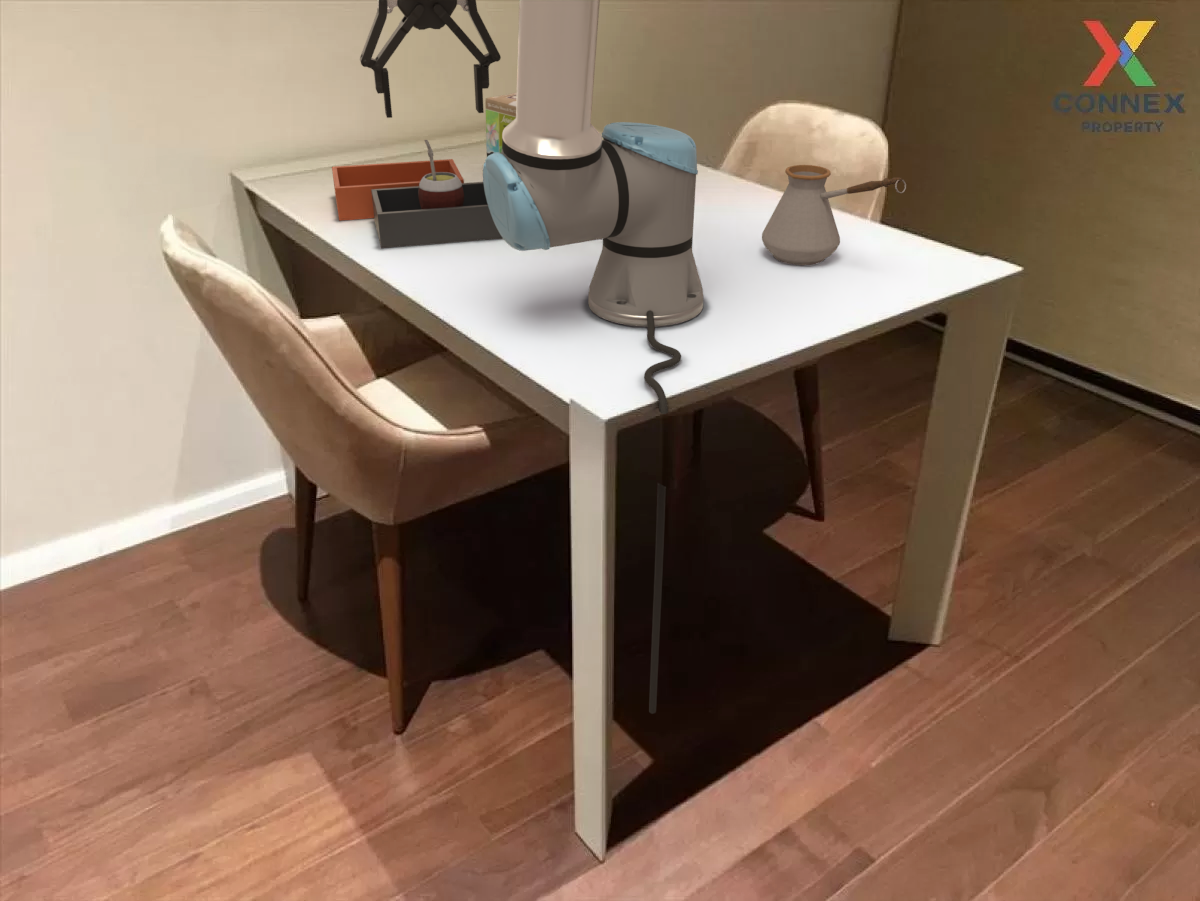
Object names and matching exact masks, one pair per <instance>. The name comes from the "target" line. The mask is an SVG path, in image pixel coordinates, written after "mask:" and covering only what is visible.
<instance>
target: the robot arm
mask: <svg viewBox="0 0 1200 901" xmlns="http://www.w3.org/2000/svg"><path fill="white" fill-rule="evenodd" d="M376 1H377V2H376V4H377V6H376V13H375V16H374V19H373V21H372V25H371V27H370V29H369V32H368V35H367V38H366V40H365V44H364V46H363V48H362V51H361V54H360V56H359V61H360V62H359V63H360V65H361V66H362V67H364V68H368V69H371V70H372V71H373V78H374V88H375V91H376V93H377V94H383V102H384V112H385V117H386V118H387V119H390V118H393V112H392V111H393V110H392V101H391V88H390V78H389V71H388V68H387V67H385V66H386V65H387V63H388V62H389V60H390V59H391V57H392V56H393V55H394V53H395V51H396V50H397V49H398V47H399V46H400V45H401V43H402V42H403V40H404V39H405V37H406V36H407V34H409V33H410V31H411V30H412V29H413V28H415V29H417V30H419V31H424V30H428V29H431V30H441V29H442V28H444V27H445V26H447V28H448V29H449V30H450V31H451V32H452V33H453V34H454V35H455V37H456V38H457V39H458V40H459V41H460V43H462V45H463V46H464V47H465V48H466V49H467V50H468V52H469V53H470V54H471V55H472V56H473V57H474V58H475V59H476V60H477V62H478V63H474V64H473V79H474V80H473V81H474V83H473V84H474V98H475V99H474V100H475V110H476V112H477V114H485V113H484V112H485V111H484V93H483V91H484V90H485V89H486V90H487V89H489V87H490V68H489V67H490V66H491V64H493V63H497V62H500V61H501V58H502V57H501V54H500V52H499V50H498V48H497V46H496V44H495V43H494V40H493V38H492V37H491V34H490V32H489V31H488V29H487V27H486V25H485V23H484V21H483V19H482V17H481V15H480V13H479V12H478V11H479V10H478V7H477V0H376ZM518 2H519V3H518V31H517V32H518V33H517V34H518V35H517V64H516V65H517V68H516V70H517V71H516V92H517V99H516V118H515V119H514V120H513V121H512V122H511V123H510V124H509V125H507V126H506V127H505V128H504V130H503V133H502V152H501V153H499V152H495V153H493V154H491V155H489V156H488V157H487V156H486V158H485V160H484V162H483V165H482V166H483V167H482V182H483V184H484V190H485V195H486V200H487V203H488V207H489V210H490V213H491V216H492V218H493V221H494V223H495V225H496V227H497V229H498V231H499V233H500V235H501V236H502V238H503V241H504V242H505V243H506V244H507V245H508V246H510V247H511V248H512V249H514V250H517V251H522V252H524V251H526V252H527V251H535V250H544V251H547V250H548V251H549V250H550V249H551V248H556V247H562V246H569V245H574V244H580V243H587V242H592V241H598V240H602V245H601V251H600V254H599V258H598V260H597V263H596V267H595V269H594V272H593V276H592V278H591V281H590V284H589V288H588V302H587V303H588V307H589V309H590V311H591V312H592V313H593V314H594V315H596V316H597V317H600V318H601V319H603V320H606V321H608V322H612V323H614V324H615V323H616V324H619V325H623V326H630V327H642V328H645V327H646V328H647V330H646V338H647V342H648V344H649V345H650V346H651V348H653V349H654V350H656V351H659V352H661V353H664V354H667V355H670V356H671V358H668V359H666V360H662V361H660V362H658V363H657V362H656V363H655V364H652V365H651V366H649V367H648V368H647V369H646V370H645V372H644V375H643V379H644V382H645V383H646V384H647V385H648V386H649V387H650V388H651V389H652V390H653V391H654V393H655V395H656V397H657V402H658V409H659V413H660V414H661V415H667V414H668V413H669V408H668V400H667V395H666V393H665V390H664V388H663V386H662V385H661V384H660V383H659V381H658V380H656V379H655V378H654V377H653V375H655V373H658V372H660V371H663V370H667V369H669V368H671V367H675V366H676V365H678V364H679V363H680V362H681V359H682V354H681V352H680V351H679V350H678V349H677V348H675V347H671V346H668V345H666V344H663V343H661V342H659V341H658V340H657V339H656V337H655V334H656V327H667V326H672V325H677V324H681V323H684V322H687V321H689V320H692V319H693V318H696V317H697V316H699V314H700V313H701V312H702V311H703V308H704V289H703V285H702V281H701V277H700V274H699V270H698V267H697V263H696V260H695V257H694V253H693V240H694V239H693V237H694V224H695V223H694V221H695V203H696V186H697V175H698V174H699V170H698V156H697V155H698V154H697V145H696V143H695V140H694V139H693V138H692V137H691V136H690V135H688V134H687V133H685V132H683V131H680V130H678V129H675V128H671V127H668V126H662V125H657V124H651V123H644V122H631V121H617V122H611V123H609V124H608V123H607V124H606V125H604V127H603V130H602V132H601V133H600V132H599V131H598V129H597V128H596V127H595V126H594V125H593V124H592V112H593V97H594V85H595V70H596V57H597V45H598V44H597V43H598V30H599V18H600V17H599V16H600V5H601V4H600V2H601V0H518ZM458 5H459V6H461V9H462V10H463V11H464V12H467V14H468V17H469V18H470V20H471V22H472V24H473V26H474V28H475V30H476V32H477V33H478V35H479V37H480V39H481V41H482V43H483V45H484V47H485V49H486V51H487V53H485V54H484V53H483V52H482V51H481V50H480V49H479V48H478V47H477V45H476V44H475V43H474V42H473V41H472V40H471V39H470V37H469V36H468V35H467V33H465V31H464V30H463V29H462V28H461V27H460V25H458V23H457V22H456V21H455V20H454V19H453V18H452V17H451V16H452V15H453V13H454V11H455V10H456V8H457V7H458ZM396 7H397V8H398V10H399V11H400V12H401V13H402V15H403V17H402V18H401V19H400V21H399V23H398V25H397V27H396V28H395V29H394V31H393V32H392V33H391V35H390V36H389V38H388V40H387V41H386V42H385V44H384V45H383V46H382V48H381V50H380V51H379V52H378V53H377V55H376V57H375V58H373V56H374V53H375V50H376V48H377V45H378V42H379V39H380V37H381V34H382V31H383V29H384V26H385V23H386V22H387V21H386V20H387V18H388V15H389V14H390V15H391V14H392V13H393V11H394V8H396ZM666 489H667V486H665V485H664V484H661V483H659V482H657V492H656V525H655V526H656V527H655V531H656V532H655V553H654V578H653V601H652V627H651V649H650V674H649V675H650V676H649V699H648V712H649V713H650V714H651V715H653V714H656V713H657V697H658V678H659V676H658V673H659V657H660V656H659V654H660V633H661V632H660V631H661V612H662V611H661V610H662V591H663V572H664V571H663V570H664V569H663V567H664V547H665V546H664V545H665V521H666Z"/></svg>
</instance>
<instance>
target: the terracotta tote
mask: <svg viewBox="0 0 1200 901" xmlns="http://www.w3.org/2000/svg"><path fill="white" fill-rule="evenodd" d="M433 160H434V167H435V172H448V173H453V174H455V175H456V176H457V177H458V178H459V179H460V181H461V183H465V179H464V178H463V176H462V174H461V172H460V169H459V168H458V166H457V164H456V163H455V161H454V159H453V158H448V159H433ZM331 172H332V179H333V180H332V181H333V187H334V188H333V189H334V195H335V202H336V209H337V215H338V221H353V220H354V221H355V220H365V219H374V212H373V202H372V193H371V189H385V188H399V187H414V186H419V183H420V181H421V179H422V178H423V177H424V176H425V175H426V174H429V173H432V170H431V164H430V160H418V161H417V160H416V161H400V162H384V163H370V164H369V163H368V164H352V165H337V166H331Z"/></svg>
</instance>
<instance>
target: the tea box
mask: <svg viewBox="0 0 1200 901" xmlns="http://www.w3.org/2000/svg"><path fill="white" fill-rule="evenodd" d="M516 99H517V91H515V92H511V93H506V94H501V95H495V96H489V97H486V98H485V100H484V101H485V103H484V104H485V106H484V107H485V145H486V146H485V148H486V149H485V150H486V151H485V152H486V158H487V157H488V156H489V155H491V154H493V153H495V152H499V153H501V152H502V133H503V130H504V128H505V127H506V126H507V125H509V124H510V123H511V122H512V121H513V120H514V119H515V118H516Z"/></svg>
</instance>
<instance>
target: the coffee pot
mask: <svg viewBox="0 0 1200 901" xmlns="http://www.w3.org/2000/svg"><path fill="white" fill-rule="evenodd" d="M784 172H785V174H786V175H787V179H788V184H787V186H786V188H785V190H784V192H783V194H782V195H781V198H780V199H779V201H778V203H777V205H776V206H775V208H774V211H773V212H772V213H771V216H770V218H769V219H768V222H767V223H766V225H765V227H764V229H763V231H762V233H761V240H762V243H763V246H764V247H765V248H766V250H767V251H768V252H769V253H770V254H772V257H773V258H774V259H775V260H777V261H779V262H781V263H784V264H788V265H793V266H794V265H795V266H813V265H818V264H820V263H823V262H824V261H825V259H827V258H829V257H830V256H832V255H833V254H834V253H835V251H836V250H837V249H838V247H839V246H840V244H841V237H840V233H839V230H838V227H837V223H836V220H835V216H834V214H833V211H832V207H831V203H830V200H829V199H831V198H835V197H840V196H845V195H850V194H852V195H853V194H858V193H865V192H872V191H875V190H878V189H879V188H880V189H881V188H889V187H890V186H891V185H894V187H895V188H894V189H895V191H896V192H897V193H898V194H903V193H905V191H906V189H907V183H906V181H905V180H904V179H902V177H892V178H887V177H885V178H883V180H870V181H866V182H863V183H860V184H859V183H858V184H856V185H852V186H849V187H845V188H842V189H836V190H830V191H827V190H826V187H825V185H826V182H827V179H828V178H829V177H830V176H831V175H832V174H831V173H832V172H831V170H830V169H828V168H827V167H823V166H819V165H813V164H795V165H790V166H787V167H786V168H785V169H784ZM901 182H903V184H904V188H903V190H902V191H899V190H898V184H900V183H901Z"/></svg>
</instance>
